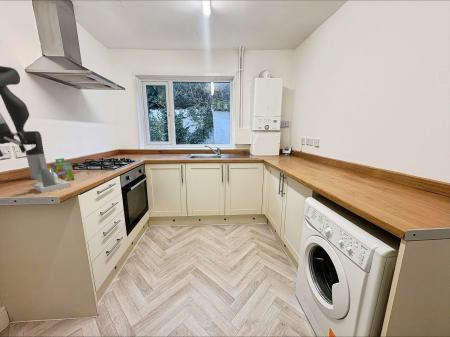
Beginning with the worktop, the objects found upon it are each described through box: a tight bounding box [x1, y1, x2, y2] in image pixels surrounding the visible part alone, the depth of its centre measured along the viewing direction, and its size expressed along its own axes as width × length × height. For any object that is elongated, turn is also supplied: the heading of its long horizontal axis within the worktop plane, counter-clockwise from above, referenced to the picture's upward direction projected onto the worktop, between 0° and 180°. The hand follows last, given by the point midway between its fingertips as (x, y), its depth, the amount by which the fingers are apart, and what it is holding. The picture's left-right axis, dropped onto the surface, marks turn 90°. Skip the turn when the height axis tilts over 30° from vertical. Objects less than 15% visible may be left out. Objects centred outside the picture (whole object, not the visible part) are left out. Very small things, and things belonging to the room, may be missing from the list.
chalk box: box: [50, 157, 75, 182], centre depth 130 cm, size 9×9×15 cm
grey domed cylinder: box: [40, 167, 56, 187], centre depth 110 cm, size 5×5×11 cm
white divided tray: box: [33, 172, 72, 194], centre depth 112 cm, size 15×13×10 cm
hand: (13, 154), depth 101 cm, fingers open, 8 cm apart
